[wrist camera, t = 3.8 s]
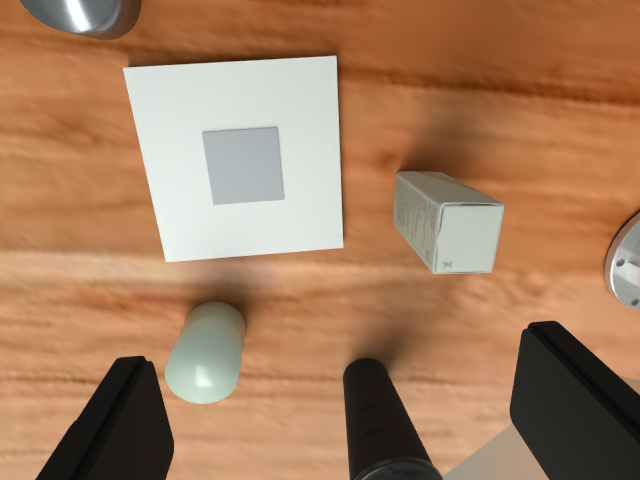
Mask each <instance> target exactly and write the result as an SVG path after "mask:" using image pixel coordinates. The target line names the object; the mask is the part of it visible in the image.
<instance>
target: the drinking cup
mask: <svg viewBox="0 0 640 480" xmlns="http://www.w3.org/2000/svg"><path fill="white" fill-rule="evenodd" d="M343 384H344V399H345V414H346V429H347V443H348V458H349V473H350V480H443V477H442V475H441V473H440V472H439V471H438V470H437V468H436V467H434V466H433V464H432V462H431V460H430V458H429V456H428V454H427V452H426V450H425V448H424V446H423V444H422V442H421V440H420V438H419V436H418V434H417V432H416V430H415V428H414V426H413V424H412V422H411V420H410V418H409V416H408V414H407V412H406V410H405V407H404V405H403V403H402V401H401V399H400V397H399V395H398V393H397V391H396V389H395V387H394V385H393V383H392V381H391V379H390V377H389V375H388V373H387V371H386V369H385V367H384V366H383V365H382V364H381V363H380V362H379V361H377V360H374V359H360V360H357V361H355V362H353V363H352V364H350V365H349V366H348V367H347V368H346V370H345V372H344V375H343Z"/></svg>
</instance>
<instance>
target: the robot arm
mask: <svg viewBox="0 0 640 480" xmlns="http://www.w3.org/2000/svg"><path fill="white" fill-rule="evenodd" d="M604 274H605V281H606V284H607V287H608V289H609V291H610V292H611V294H612V295H613V296H614V298H616V299H617V300H618V301H620V302H621V303H623V304H624V305H626V306H627V307H629V308H631V309H634V310H638V311H640V212H639V213H638V214H637V215H636V216H634V217H633V218H632V219H631V220H630V221H629V222H628V223H627V224H626V225H625V226H624V227H623V228H622V229H621V231H620V232H619V234H618V235H617V236H616V238H615V239H614V241H613V243H612V245H611V247H610V249H609V251H608V255H607V258H606V262H605V271H604ZM510 416H511V420H512V422H513V424H514V426H515V427H516V429H517V431H518V432H519V434H520V435H521V437H522V438H523V440H524V441H525V443H526V444H527V446H528V447H529V449H530V450H531V452H532V454H533V455H534V457H535V458H536V460H537V461H538V463H539V464H540V466H541V467H542V469H543V471H544V472H545V473H546V475H547V477H548V478H549V480H640V395H639V394H638V393H637V392H635V391H634V390H633V389H632V388H631V387H630V386H629V385H627V383H625V382H624V381H623V380H622V379H621V378H620V377H619V376H618V375H616V374H615V373H614V372H613V371H612V370H611V369H610V368H609V367H608V366H606V365H605V364H604V363H603V362H602V361H601V360H600V359H599V358H597V357H596V356H595V355H594V354H593V353H592V352H591V351H590V350H589V349H587V348H586V347H585V346H584V345H583V344H582V343H581V342H580V341H578V340H577V339H576V338H575V337H574V336H573V335H572V334H571V333H569V332H568V331H567V330H566V329H565V328H564V327H563V326H562V325H561V324H559V323H558V322H556V321H543V322H532V323H530V324H529V325H528V328H527V329H524V330H523V331H522V335H521V341H520V347H519V354H518V360H517V366H516V372H515V378H514V385H513V391H512V397H511V403H510ZM173 453H174V440H173V436H172V432H171V428H170V425H169V421H168V417H167V413H166V409H165V406H164V402H163V398H162V394H161V390H160V387H159V383H158V379H157V375H156V371H155V368H154V364H153V363H152V361H146V359H145V357H144V356H133V357H121V358H118V359H116V361H115V362H114V363H113V365H112V366H111V368H110V369H109V371H108V373H107V374H106V376H105V377H104V379H103V380H102V382H101V383H100V385H99V386H98V388H97V390H96V391H95V393H94V394H93V396H92V397H91V399H90V400H89V402H88V403H87V405H86V407H85V408H84V410H83V411H82V413H81V414H80V416H79V417H78V419H77V420H76V421H74V423H73V424H72V425H71V426H70V427H69V429H68V430H67V432H66V434H65V435H64V437H63V438H62V440H61V441H60V443H59V444H58V446H57V447H56V449H55V450H54V452H53V453H52V455H51V456H50V458H49V459H48V461H47V463H46V464H45V466H44V467H43V469H42V470H41V472H40V473H39V475H38V476H37V478H36V479H35V480H165V479H166V476H167V473H168V470H169V467H170V464H171V461H172V458H173Z"/></svg>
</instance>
